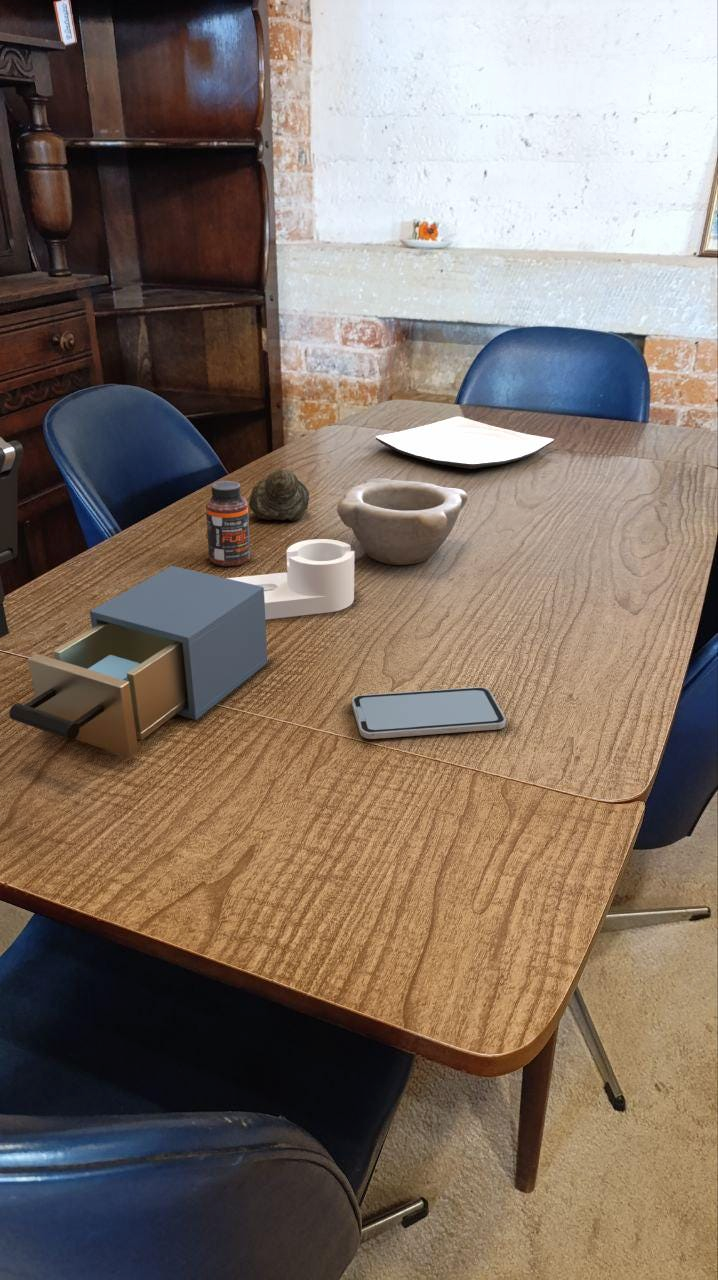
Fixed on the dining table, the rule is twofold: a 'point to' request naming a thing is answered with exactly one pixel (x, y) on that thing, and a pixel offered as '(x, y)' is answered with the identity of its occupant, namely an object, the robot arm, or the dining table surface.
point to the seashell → (279, 497)
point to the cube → (114, 667)
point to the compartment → (198, 628)
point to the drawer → (106, 689)
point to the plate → (464, 443)
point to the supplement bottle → (227, 525)
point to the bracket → (309, 580)
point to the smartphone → (427, 712)
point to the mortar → (401, 518)
